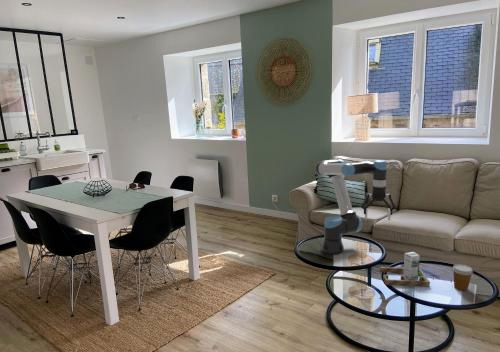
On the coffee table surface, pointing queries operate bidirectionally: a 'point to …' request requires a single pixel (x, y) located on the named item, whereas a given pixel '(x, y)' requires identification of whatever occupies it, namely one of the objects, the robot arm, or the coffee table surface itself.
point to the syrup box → (411, 265)
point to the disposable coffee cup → (462, 277)
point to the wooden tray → (404, 278)
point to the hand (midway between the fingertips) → (377, 219)
